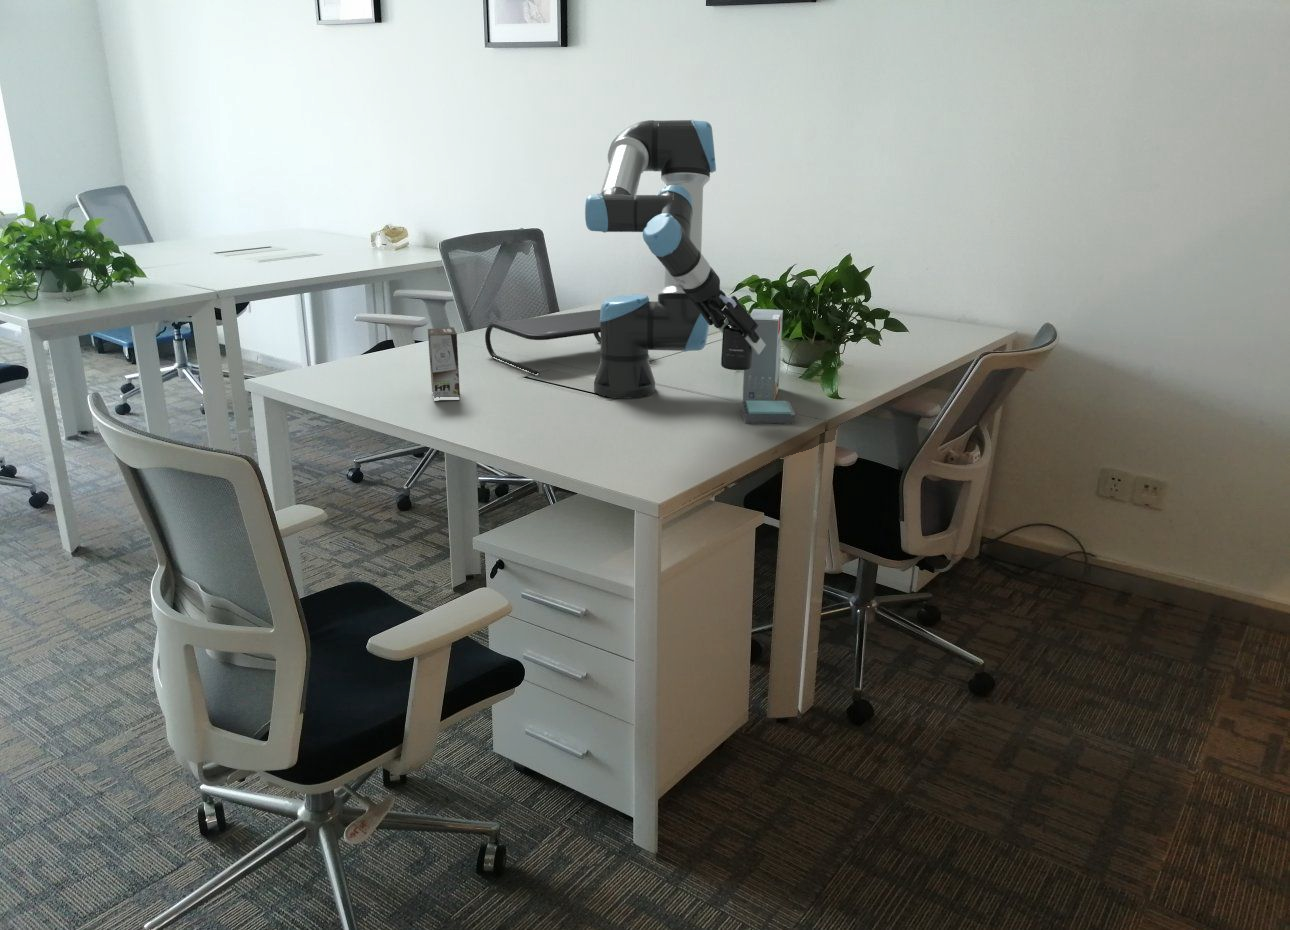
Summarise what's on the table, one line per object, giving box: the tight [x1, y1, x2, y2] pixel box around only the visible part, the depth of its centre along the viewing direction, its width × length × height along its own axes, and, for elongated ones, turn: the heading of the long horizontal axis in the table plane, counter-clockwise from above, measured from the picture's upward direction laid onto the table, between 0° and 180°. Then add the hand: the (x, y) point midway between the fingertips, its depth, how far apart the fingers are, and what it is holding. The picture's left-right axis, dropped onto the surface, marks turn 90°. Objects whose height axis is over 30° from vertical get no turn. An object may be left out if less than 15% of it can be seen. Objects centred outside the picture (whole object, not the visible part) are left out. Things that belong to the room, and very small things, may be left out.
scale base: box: [741, 401, 796, 425], centre depth 232 cm, size 11×11×2 cm
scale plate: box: [745, 400, 791, 414], centre depth 232 cm, size 9×9×1 cm
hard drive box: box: [742, 308, 784, 402], centre depth 247 cm, size 16×8×20 cm, turn 168°
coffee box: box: [427, 326, 461, 399], centre depth 246 cm, size 9×6×16 cm
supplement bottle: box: [720, 312, 753, 371], centre depth 225 cm, size 7×7×12 cm
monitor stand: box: [484, 308, 650, 374], centre depth 287 cm, size 37×28×11 cm
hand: (749, 346), depth 227 cm, fingers closed on supplement bottle, 7 cm apart
